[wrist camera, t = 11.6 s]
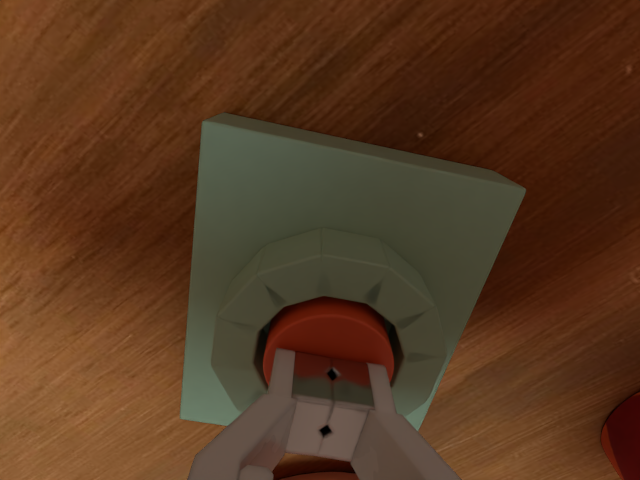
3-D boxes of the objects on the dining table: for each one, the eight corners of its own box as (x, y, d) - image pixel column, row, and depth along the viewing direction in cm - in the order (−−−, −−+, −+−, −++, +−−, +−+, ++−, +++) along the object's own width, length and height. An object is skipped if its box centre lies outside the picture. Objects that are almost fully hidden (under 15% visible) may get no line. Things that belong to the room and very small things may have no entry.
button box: (221, 111, 12) (176, 129, 8) (494, 170, 12) (568, 211, 9) (196, 376, 16) (159, 466, 12) (398, 407, 17) (420, 501, 13)
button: (280, 270, 11) (273, 304, 9) (398, 292, 11) (411, 328, 10) (262, 363, 12) (253, 407, 11) (368, 380, 13) (375, 425, 11)
